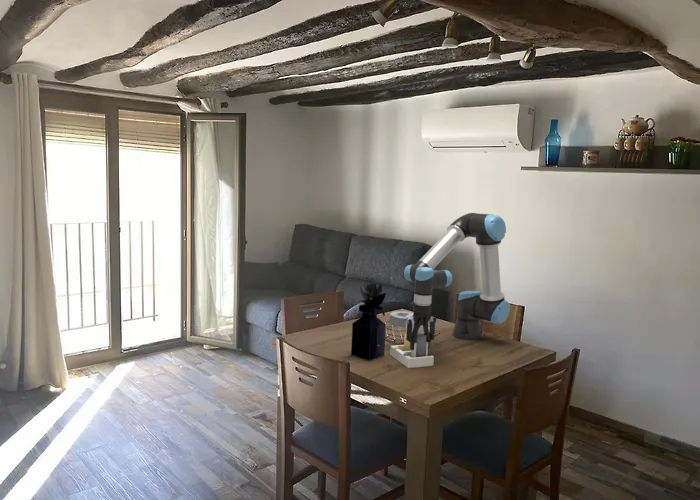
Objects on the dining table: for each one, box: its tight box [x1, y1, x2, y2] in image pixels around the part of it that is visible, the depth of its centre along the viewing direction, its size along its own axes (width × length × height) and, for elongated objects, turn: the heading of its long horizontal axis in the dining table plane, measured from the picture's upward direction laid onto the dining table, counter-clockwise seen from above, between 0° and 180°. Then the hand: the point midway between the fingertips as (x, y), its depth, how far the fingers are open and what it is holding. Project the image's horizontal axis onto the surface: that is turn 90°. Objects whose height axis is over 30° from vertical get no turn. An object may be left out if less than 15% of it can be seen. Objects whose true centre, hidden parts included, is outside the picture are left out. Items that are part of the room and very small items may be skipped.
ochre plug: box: [403, 332, 411, 351], centre depth 243 cm, size 5×5×10 cm
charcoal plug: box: [415, 333, 426, 357], centre depth 234 cm, size 5×5×10 cm
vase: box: [350, 277, 387, 362], centre depth 240 cm, size 14×12×35 cm
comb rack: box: [389, 344, 435, 369], centre depth 239 cm, size 12×18×5 cm, turn 21°
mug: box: [405, 314, 430, 334], centre depth 261 cm, size 15×11×13 cm
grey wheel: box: [389, 310, 413, 328], centre depth 298 cm, size 15×15×5 cm
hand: (419, 356), depth 235 cm, fingers closed on charcoal plug, 5 cm apart
